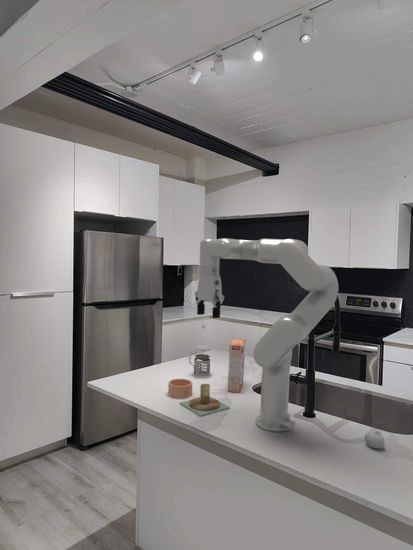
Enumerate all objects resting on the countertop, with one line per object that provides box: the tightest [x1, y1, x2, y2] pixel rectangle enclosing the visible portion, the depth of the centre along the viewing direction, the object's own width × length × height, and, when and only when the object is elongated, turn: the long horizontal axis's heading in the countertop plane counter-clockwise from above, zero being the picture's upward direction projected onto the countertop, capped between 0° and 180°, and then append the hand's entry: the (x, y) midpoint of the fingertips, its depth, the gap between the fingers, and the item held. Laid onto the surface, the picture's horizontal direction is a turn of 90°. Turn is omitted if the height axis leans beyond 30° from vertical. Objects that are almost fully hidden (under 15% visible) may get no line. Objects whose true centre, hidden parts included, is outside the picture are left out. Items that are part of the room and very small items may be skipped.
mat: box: [179, 396, 231, 417], centre depth 150 cm, size 14×14×1 cm
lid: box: [189, 383, 221, 411], centre depth 149 cm, size 12×12×8 cm
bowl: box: [167, 378, 193, 400], centre depth 162 cm, size 10×10×5 cm
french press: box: [188, 324, 213, 380], centre depth 187 cm, size 10×12×25 cm
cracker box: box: [227, 338, 246, 394], centre depth 172 cm, size 14×6×21 cm, turn 168°
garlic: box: [364, 430, 385, 450], centre depth 121 cm, size 6×5×5 cm
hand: (208, 316), depth 148 cm, fingers open, 9 cm apart
